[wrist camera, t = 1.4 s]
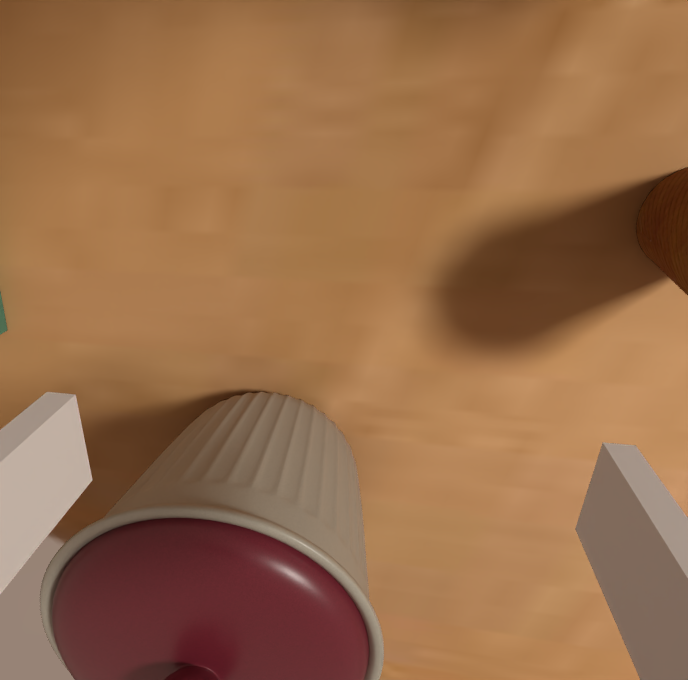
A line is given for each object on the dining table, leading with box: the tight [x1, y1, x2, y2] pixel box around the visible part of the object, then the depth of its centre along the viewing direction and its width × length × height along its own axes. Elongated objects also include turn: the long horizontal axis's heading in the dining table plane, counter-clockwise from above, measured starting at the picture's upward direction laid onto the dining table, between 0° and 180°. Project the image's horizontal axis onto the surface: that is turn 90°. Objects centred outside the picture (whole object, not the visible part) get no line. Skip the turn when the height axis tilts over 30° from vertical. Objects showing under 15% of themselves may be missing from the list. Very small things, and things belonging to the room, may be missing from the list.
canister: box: [40, 392, 384, 680], centre depth 32 cm, size 18×18×21 cm
